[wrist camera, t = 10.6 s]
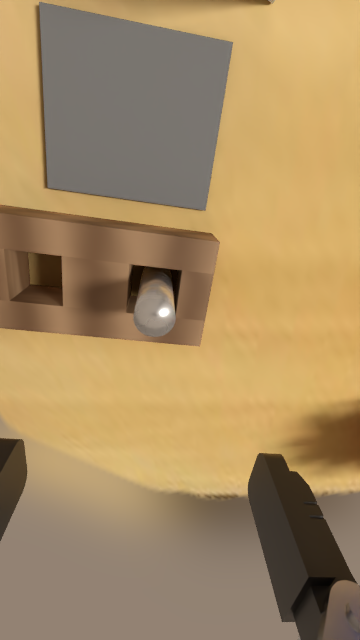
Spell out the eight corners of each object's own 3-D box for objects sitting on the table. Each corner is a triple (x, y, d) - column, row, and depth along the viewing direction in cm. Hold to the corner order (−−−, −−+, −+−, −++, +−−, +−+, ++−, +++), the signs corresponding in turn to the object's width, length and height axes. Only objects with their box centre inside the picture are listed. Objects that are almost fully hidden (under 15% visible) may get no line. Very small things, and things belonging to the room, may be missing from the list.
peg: (173, 264, 30) (178, 301, 21) (169, 292, 31) (172, 338, 22) (143, 260, 29) (134, 296, 20) (140, 289, 30) (131, 334, 21)
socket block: (211, 233, 28) (219, 242, 24) (195, 325, 33) (199, 346, 29) (-8, 203, 26) (-40, 207, 22) (4, 306, 30) (-20, 326, 26)
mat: (231, 44, 23) (233, 42, 22) (204, 210, 28) (205, 210, 27) (41, 4, 21) (39, 1, 21) (49, 187, 26) (47, 187, 26)
